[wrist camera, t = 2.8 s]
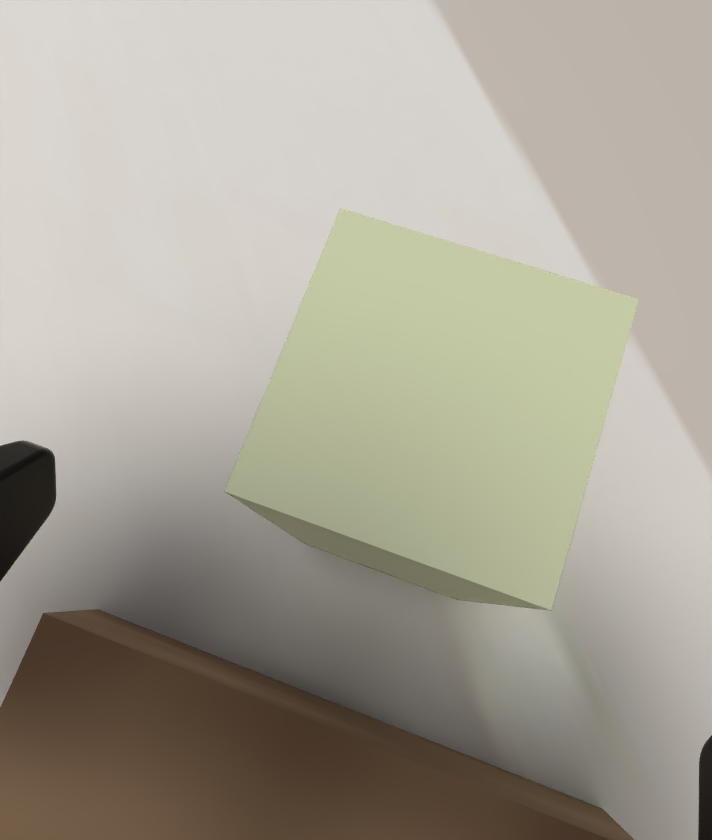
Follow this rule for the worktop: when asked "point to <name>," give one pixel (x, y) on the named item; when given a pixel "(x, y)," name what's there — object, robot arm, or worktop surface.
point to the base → (233, 755)
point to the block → (436, 413)
